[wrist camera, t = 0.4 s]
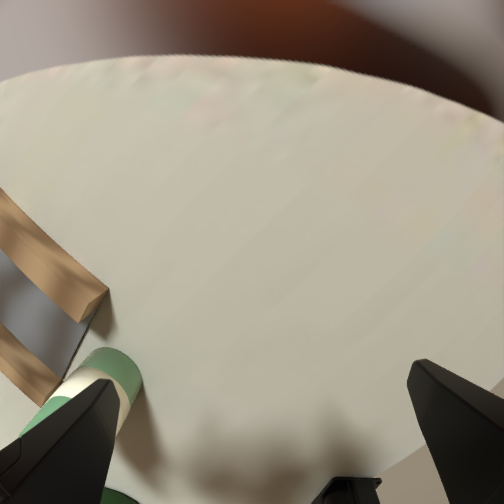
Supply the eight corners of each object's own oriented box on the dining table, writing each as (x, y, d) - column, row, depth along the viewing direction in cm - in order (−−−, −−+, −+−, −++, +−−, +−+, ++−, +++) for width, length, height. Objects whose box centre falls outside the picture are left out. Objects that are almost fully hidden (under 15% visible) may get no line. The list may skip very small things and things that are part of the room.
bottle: (139, 406, 25) (69, 555, 9) (86, 384, 25) (-7, 511, 8) (146, 360, 24) (54, 525, 8) (88, 337, 24) (-34, 466, 7)
